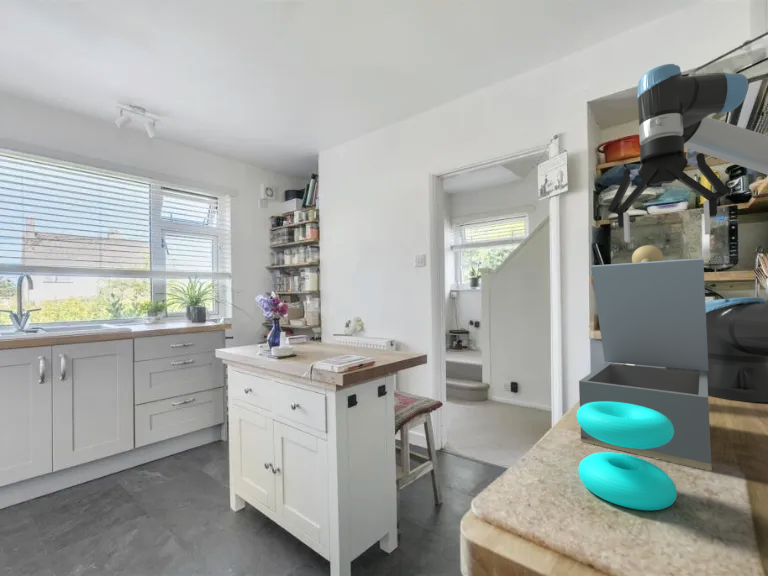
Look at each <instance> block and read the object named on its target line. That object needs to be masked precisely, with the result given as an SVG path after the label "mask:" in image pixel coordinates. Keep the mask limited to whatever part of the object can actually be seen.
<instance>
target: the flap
mask: <svg viewBox="0 0 768 576" xmlns="http://www.w3.org/2000/svg"><path fill="white" fill-rule="evenodd" d="M590 268H591V276H592V283H593V289H594V295H595V296H594V297H595V304H596V305H595V306H596V312H597V317H598V318H597V319H598V324H599V329H600V330H599V331H600V339H601V344H602V346H601V347H602V353H603V358H604V359H603V360H604V363H613V364H624V365H626V364H634V365H645V366H656V367H666V368H667V369H678V370H689V371H699V370H700V371H708V350H707V329H706V307H705V302H706V287H705V286H706V285H705V270H704V269H705V265H704V258H703V257H699V258H689V259H688V258H685V259H684V258H683V259H671V260H668V259H667V260H664V254H663V251H662V250H661V249H660V248H659V247H657V246H655V245H648V244H647V245H642V246H640V247H638V248H636V249H635V250H634V251H633V253H632V255H631V262H628V263H627V262H625V263H614V264H613V263H611V264H597V265H591V267H590Z"/></svg>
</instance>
